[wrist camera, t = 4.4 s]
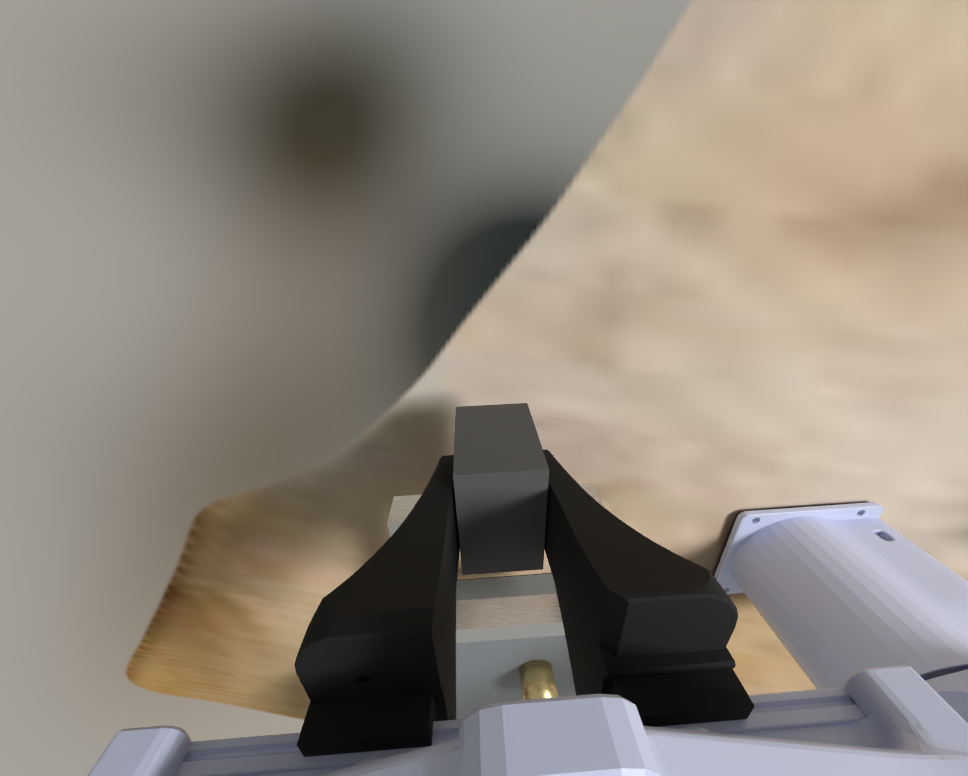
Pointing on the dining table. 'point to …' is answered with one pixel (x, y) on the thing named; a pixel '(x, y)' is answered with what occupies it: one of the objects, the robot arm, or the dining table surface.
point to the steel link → (499, 519)
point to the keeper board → (510, 653)
